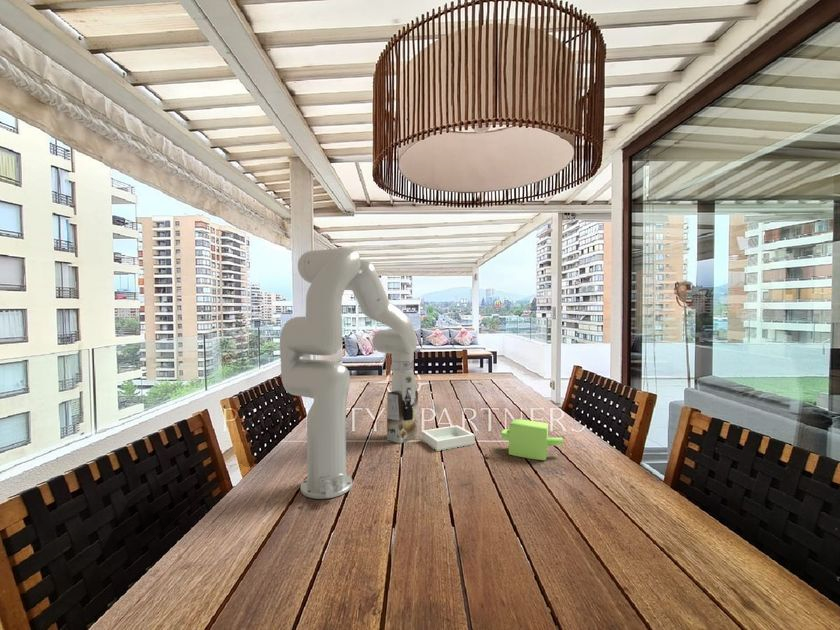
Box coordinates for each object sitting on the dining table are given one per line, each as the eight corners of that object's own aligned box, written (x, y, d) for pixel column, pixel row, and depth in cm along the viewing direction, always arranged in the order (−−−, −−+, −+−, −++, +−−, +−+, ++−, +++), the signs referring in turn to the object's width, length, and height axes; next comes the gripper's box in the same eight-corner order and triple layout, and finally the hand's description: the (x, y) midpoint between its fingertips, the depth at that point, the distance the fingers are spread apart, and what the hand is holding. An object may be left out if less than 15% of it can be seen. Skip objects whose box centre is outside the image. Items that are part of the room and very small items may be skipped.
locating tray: (474, 444, 125) (474, 434, 125) (437, 451, 119) (437, 441, 119) (457, 434, 135) (457, 425, 135) (421, 440, 129) (421, 430, 129)
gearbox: (563, 453, 119) (564, 423, 119) (561, 464, 110) (562, 431, 110) (504, 444, 126) (505, 415, 126) (499, 453, 117) (500, 422, 117)
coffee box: (400, 444, 125) (400, 395, 125) (386, 439, 130) (386, 392, 129) (418, 436, 133) (418, 390, 132) (404, 432, 137) (404, 388, 136)
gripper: (423, 368, 124) (423, 422, 125) (402, 361, 140) (402, 408, 140) (402, 370, 121) (402, 425, 121) (383, 362, 137) (383, 411, 137)
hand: (402, 416), depth 131 cm, fingers closed on coffee box, 8 cm apart
